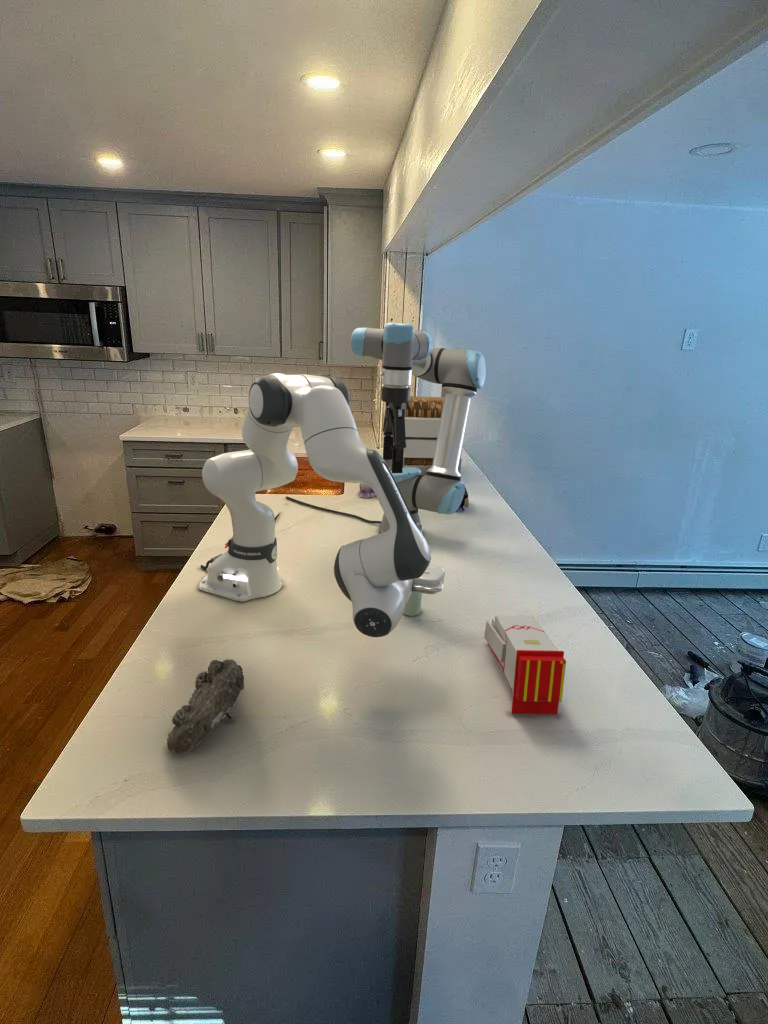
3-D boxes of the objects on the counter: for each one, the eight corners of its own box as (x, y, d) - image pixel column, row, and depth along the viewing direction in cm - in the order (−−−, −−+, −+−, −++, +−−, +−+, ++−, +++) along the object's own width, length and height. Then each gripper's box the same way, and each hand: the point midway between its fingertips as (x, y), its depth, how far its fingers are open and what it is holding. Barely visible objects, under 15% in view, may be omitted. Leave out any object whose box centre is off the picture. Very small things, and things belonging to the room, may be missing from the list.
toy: (530, 600, 137) (574, 657, 108) (525, 651, 140) (567, 720, 111) (480, 599, 137) (511, 656, 107) (477, 651, 139) (506, 719, 110)
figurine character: (468, 516, 224) (463, 500, 237) (471, 498, 221) (465, 483, 234) (452, 515, 224) (447, 499, 237) (453, 498, 220) (449, 482, 234)
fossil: (192, 660, 117) (244, 628, 112) (224, 691, 120) (276, 661, 115) (142, 746, 98) (202, 712, 93) (182, 779, 101) (242, 748, 96)
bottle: (397, 606, 151) (401, 531, 144) (416, 604, 153) (421, 529, 145) (403, 616, 146) (408, 539, 139) (423, 614, 148) (429, 537, 140)
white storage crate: (382, 463, 289) (386, 382, 275) (445, 464, 293) (451, 384, 279) (390, 482, 257) (394, 392, 243) (460, 483, 261) (468, 394, 247)
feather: (287, 506, 225) (290, 502, 224) (270, 530, 198) (272, 526, 198) (283, 504, 225) (286, 500, 224) (265, 527, 198) (268, 523, 197)
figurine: (363, 499, 233) (364, 464, 228) (353, 492, 242) (354, 458, 236) (383, 497, 237) (385, 462, 232) (373, 490, 246) (374, 456, 241)
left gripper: (442, 579, 115) (450, 552, 127) (345, 565, 119) (362, 541, 132) (439, 606, 117) (448, 578, 130) (344, 592, 121) (362, 566, 134)
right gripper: (374, 379, 157) (371, 454, 164) (390, 392, 134) (386, 479, 141) (400, 380, 158) (396, 454, 165) (421, 393, 135) (415, 478, 142)
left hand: (404, 559), depth 131 cm, fingers open, 8 cm apart
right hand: (392, 465), depth 153 cm, fingers open, 13 cm apart
